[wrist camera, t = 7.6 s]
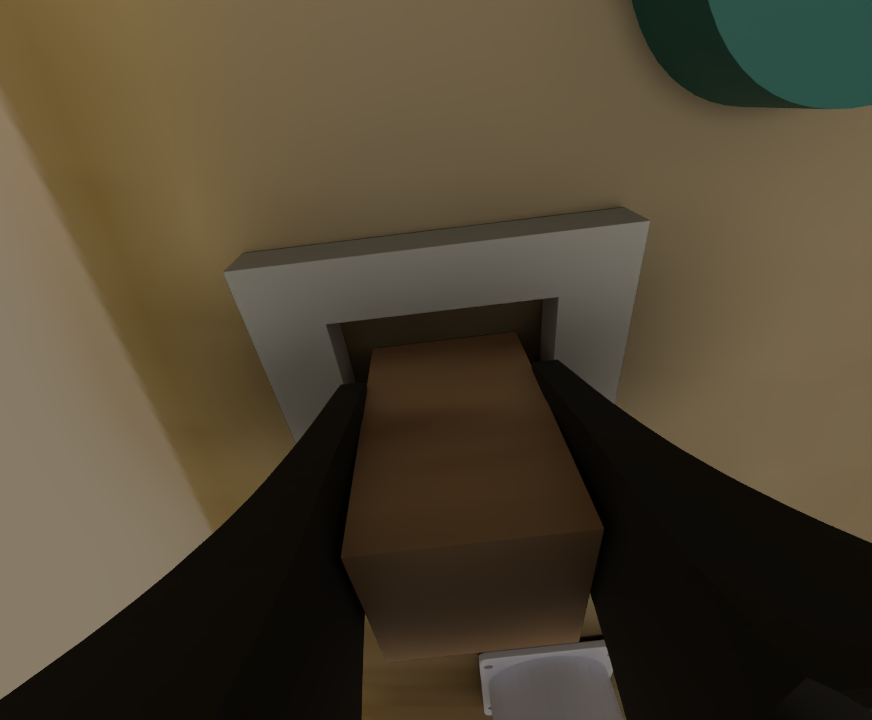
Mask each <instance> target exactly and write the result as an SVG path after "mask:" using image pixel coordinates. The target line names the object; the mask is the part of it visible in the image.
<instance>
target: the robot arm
mask: <svg viewBox="0 0 872 720" xmlns="http://www.w3.org/2000/svg"><path fill="white" fill-rule="evenodd" d="M532 371H533V373H534V375H535V378H536V380H537V382H538V384H539V387H540V389H541V391H542V393H543V396H544V398H545V399H546V401H547V403H548V404H549V407H550V409H551V411H552V413H553V415H554V418H555V420H556V422H557V424H558V427H559V429H560V431H561V433H562V436H563V438H564V440H565V442H566V444H567V447H568V449H569V451H570V453H571V456H572V458H573V460H574V462H575V465H576V467H577V469H578V471H579V473H580V476H581V478H582V480H583V482H584V485H585V487H586V489H587V491H588V494H589V496H590V498H591V500H592V502H593V505H594V507H595V509H596V511H597V514H598V516H599V518H600V520H601V523H602V525H603V527H604V532H603V536H602V541H601V545H600V550H599V554H598V559H597V563H596V568H595V572H594V577H593V581H592V586H591V590H590V594H591V597H592V600H593V604H594V607H595V610H596V613H597V617H598V620H599V624H600V627H601V631H602V634H603V637H604V640H596V641H586V642H577V643H567V644H558V645H548V646H539V647H530V648H520V649H511V650H501V651H492V652H484V653H481V654H480V655H479V667H480V676H481V685H482V695H483V704H484V713H485V714H486V715H492V718H493V720H624V719H623V716H622V713H621V710H620V707H619V704H618V701H617V698H616V696H615V693H614V690H613V687H612V684H611V681H610V678H611V675H612V672H614V676H615V679H616V683H617V687H618V690H619V694H620V698H621V701H622V705H623V708H624V712H625V716H626V719H627V720H872V543H870V542H868V541H865V540H863V539H861V538H858V537H856V536H854V535H851V534H849V533H847V532H844V531H842V530H840V529H837V528H835V527H833V526H830V525H828V524H826V523H824V522H821V521H819V520H817V519H815V518H813V517H811V516H808V515H806V514H804V513H802V512H800V511H797V510H795V509H793V508H791V507H789V506H787V505H785V504H783V503H781V502H779V501H777V500H775V499H773V498H771V497H769V496H767V495H765V494H763V493H761V492H759V491H757V490H755V489H753V488H751V487H749V486H747V485H744V484H743V483H741V482H739V481H737V480H735V479H733V478H731V477H729V476H727V475H726V474H724V473H722V472H720V471H718V470H716V469H715V468H713V467H711V466H709V465H708V464H706V463H704V462H703V461H701V460H699V459H697V458H696V457H694V456H692V455H690V454H689V453H687V452H685V451H683V450H682V449H680V448H679V447H677V446H675V445H674V444H672V443H670V442H669V441H667V440H666V439H664V438H663V437H661V436H660V435H658V434H657V433H655V432H654V431H652V430H651V429H649V428H648V427H646V426H645V425H643V424H642V423H640V422H639V421H637V420H636V419H634V418H633V417H632V416H630V415H629V414H627V413H626V412H625V411H623V410H622V409H620V408H619V407H618V406H616V405H615V404H614V403H612V402H611V401H610V400H608V399H607V398H606V397H604V396H603V395H602V394H601V393H599V392H598V391H597V390H595V389H594V388H593V387H592V386H590V385H589V384H588V383H587V382H585V381H584V380H583V379H581V378H580V377H579V376H578V375H577V374H575V373H574V372H573V371H572V370H570V369H569V368H568V367H567V366H565V365H564V364H563V363H562V362H560V361H559V360H558V359H557V360H548V361H539V362H532ZM366 395H367V386H366V382H358V383H349V384H341V385H340V386H339V387H338V388H337V390H336V391H335V392H334V394H333V395H332V397H331V398H330V399H329V401H328V402H327V403H326V405H325V406H324V408H323V409H322V410H321V412H320V413H319V414H318V416H317V417H316V419H315V420H314V421H313V423H312V424H311V425H310V427H309V428H308V429H307V430H306V432H305V433H304V434H303V436H302V437H301V438H300V440H299V441H298V442H297V443H296V445H295V446H294V447H293V449H292V450H291V451H290V452H289V453H288V455H287V456H286V457H285V458H284V459H283V461H282V462H281V463H280V464H279V465H278V466H277V468H276V469H275V470H274V471H273V472H272V473H271V475H270V476H269V477H268V478H267V479H266V480H265V482H264V483H263V484H262V485H261V486H260V487H259V488H258V489H257V490H256V491H255V493H254V494H253V495H252V496H251V497H250V498H249V499H248V500H247V501H246V502H245V503H244V504H243V505H242V506H241V507H240V508H239V509H238V510H237V511H236V512H235V513H234V514H233V515H232V516H231V517H230V518H229V519H228V520H227V521H226V522H225V523H224V524H223V525H222V526H221V527H220V528H218V529H217V530H216V531H215V532H214V533H213V534H212V535H211V536H210V537H209V538H207V539H206V540H205V541H204V542H203V543H202V544H201V545H199V546H198V547H197V548H196V549H195V550H194V551H193V552H192V553H191V554H189V555H188V556H187V557H186V558H185V559H184V560H183V561H182V562H181V563H179V564H178V565H177V566H176V567H175V568H174V569H173V570H172V571H170V572H169V573H168V574H167V575H165V576H164V577H163V578H162V579H161V580H159V581H158V582H157V583H156V584H154V585H153V586H152V587H151V588H150V589H148V590H147V591H146V592H145V593H144V594H142V595H141V596H140V597H139V598H137V599H136V600H135V601H134V602H132V603H131V604H130V605H128V606H127V607H126V608H125V609H123V610H122V611H121V612H119V613H118V614H117V615H116V616H114V617H113V618H112V619H110V620H109V621H108V622H107V623H105V624H104V625H103V626H101V627H100V628H99V629H97V630H96V631H95V632H93V633H92V634H91V635H90V636H88V637H87V638H86V639H84V640H83V641H82V642H80V643H79V644H77V645H76V646H75V647H73V648H72V649H70V650H69V651H68V652H66V653H65V654H63V655H62V656H61V657H59V658H58V659H56V660H55V661H54V662H52V663H51V664H50V665H48V666H47V667H45V668H44V669H43V670H41V671H40V672H38V673H37V674H36V675H34V676H33V677H31V678H30V679H29V680H27V681H26V682H25V683H23V684H22V685H20V686H19V687H17V688H16V689H15V690H13V691H12V692H11V693H9V694H8V695H6V696H5V697H3V698H2V699H1V700H0V720H362V676H363V646H364V621H365V612H364V609H363V607H362V605H361V603H360V600H359V598H358V596H357V594H356V591H355V589H354V587H353V585H352V582H351V580H350V578H349V576H348V573H347V571H346V569H345V566H344V564H343V562H342V560H341V553H342V546H343V540H344V533H345V527H346V520H347V513H348V507H349V500H350V494H351V487H352V481H353V474H354V468H355V461H356V455H357V448H358V441H359V435H360V428H361V423H362V420H363V415H364V409H365V402H366Z"/></svg>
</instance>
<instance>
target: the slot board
mask: <svg viewBox="0 0 872 720" xmlns="http://www.w3.org/2000/svg"><path fill="white" fill-rule="evenodd" d="M649 225H650V220H648V219H646V218H644V217H642V216H640V215H638V214H636V213H634V212H632V211H630V210H628V209H627V208H625V207H623V208H614V209H606V210H598V211H590V212H581V213H573V214H565V215H557V216H548V217H540V218H532V219H523V220H515V221H507V222H499V223H490V224H482V225H474V226H465V227H457V228H449V229H441V230H432V231H424V232H416V233H408V234H399V235H391V236H383V237H374V238H366V239H358V240H350V241H341V242H333V243H325V244H317V245H308V246H300V247H292V248H283V249H275V250H267V251H259V252H250V253H243V254H242V255H241V256H240V257H239V258H238V259H236V260H235V261H234V262H233V263H232V264H231V265H230V266H229V267H228V268H227V269H226V270H225V271H223V274H224V276H225V278H226V281H227V283H228V285H229V288H230V290H231V292H232V295H233V297H234V299H235V302H236V304H237V306H238V309H239V311H240V313H241V316H242V318H243V320H244V323H245V325H246V328H247V330H248V332H249V335H250V337H251V339H252V342H253V344H254V346H255V349H256V351H257V353H258V356H259V358H260V360H261V363H262V365H263V367H264V370H265V372H266V374H267V377H268V379H269V381H270V384H271V386H272V388H273V391H274V393H275V395H276V398H277V400H278V403H279V405H280V407H281V410H282V412H283V414H284V417H285V419H286V421H287V424H288V426H289V428H290V431H291V433H292V435H293V438H294V440H295V442H296V443H297V442H298V441H299V440H300V438H301V437H302V436H303V434H304V433H305V432H306V430H307V429H308V428H309V427H310V425H311V424H312V423H313V421H314V420H315V419H316V417H317V416H318V414H319V413H320V412H321V410H322V409H323V408H324V406H325V405H326V403H327V402H328V401H329V399H330V398H331V397H332V395H333V394H334V392H335V391H336V390H337V388H338V387H339V386H340V385H341V384H349V383H356V380H355V376H354V373H353V369H352V365H351V362H350V358H349V354H348V351H347V347H346V343H345V340H344V336H343V332H342V329H341V325H340V323H342V322H350V321H359V320H367V319H376V318H384V317H393V316H401V315H410V314H418V313H427V312H435V311H444V310H452V309H461V308H469V307H478V306H486V305H495V304H503V303H512V302H520V301H528V300H537V299H543V306H542V326H541V345H540V361H548V360H557V359H558V360H559V361H560V362H562V363H563V364H564V365H565V366H567V367H568V368H569V369H570V370H572V371H573V372H574V373H575V374H577V375H578V376H579V377H580V378H581V379H583V380H584V381H585V382H587V383H588V384H589V385H590V386H592V387H593V388H594V389H595V390H597V391H598V392H599V393H601V394H602V395H603V396H604V397H606V398H607V399H608V400H610V401H611V402H612V403H614V404H615V399H616V394H617V389H618V384H619V378H620V373H621V368H622V363H623V358H624V353H625V348H626V343H627V337H628V332H629V327H630V322H631V317H632V312H633V307H634V302H635V296H636V291H637V286H638V281H639V276H640V271H641V266H642V261H643V255H644V250H645V245H646V240H647V235H648V230H649Z"/></svg>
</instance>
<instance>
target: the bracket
mask: <svg viewBox="0 0 872 720" xmlns="http://www.w3.org/2000/svg"><path fill="white" fill-rule="evenodd" d="M632 2H633V7H634V10H635V13H636V16H637V20H638V23H639V26H640V29H641V31H642V33H643V35H644V37H645V40H646V42H647V44H648V46H649V48H650V49H651V51H652V53H653V54H654V56H655V57H656V59H657V61H658V62H659V63H660V65H661V66H662V67H663V68H664V69H665V71H666V72H667V73H668V74H669V75H670V76H671V77H672V78H673V79H674V80H675V81H676V82H677V83H679V84H680V85H681V86H682V87H684V88H685V89H687V90H688V91H690V92H692V93H693V94H695V95H697V96H699V97H701V98H704V99H706V100H708V101H711V102H715V103H719V104H723V105H729V106H739V107H770V108H809V109H844V108H855V107H862V106H868V105H872V0H632Z"/></svg>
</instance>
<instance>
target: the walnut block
mask: <svg viewBox="0 0 872 720" xmlns="http://www.w3.org/2000/svg"><path fill="white" fill-rule="evenodd" d="M603 532H604V527H603V525H602V523H601V520H600V518H599V516H598V514H597V511H596V509H595V507H594V505H593V502H592V500H591V498H590V496H589V494H588V491H587V489H586V487H585V485H584V482H583V480H582V478H581V476H580V473H579V471H578V469H577V467H576V465H575V462H574V460H573V458H572V456H571V453H570V451H569V449H568V447H567V444H566V442H565V440H564V438H563V436H562V433H561V431H560V429H559V427H558V424H557V422H556V420H555V418H554V415H553V413H552V411H551V409H550V407H549V404H548V403H547V401H546V399H545V398H544V396H543V393H542V391H541V389H540V387H539V384H538V382H537V380H536V378H535V375H534V373H533V371H532V366H531V364H530V362H529V360H528V357H527V355H526V353H525V351H524V349H523V346H522V344H521V342H520V340H519V337H518V335H517V333H516V331H515V332H507V333H498V334H490V335H482V336H473V337H465V338H456V339H448V340H440V341H431V342H423V343H415V344H406V345H398V346H389V347H381V348H373V350H372V356H371V363H370V370H369V376H368V383H367V395H366V402H365V409H364V415H363V420H362V423H361V428H360V435H359V441H358V448H357V455H356V461H355V468H354V474H353V481H352V487H351V494H350V500H349V507H348V513H347V520H346V527H345V533H344V540H343V546H342V553H341V560H342V562H343V564H344V566H345V569H346V571H347V573H348V576H349V578H350V580H351V582H352V585H353V587H354V589H355V591H356V594H357V596H358V598H359V600H360V603H361V605H362V607H363V609H364V612H365V614H366V616H367V618H368V621H369V623H370V625H371V627H372V630H373V632H374V634H375V637H376V639H377V641H378V643H379V646H380V648H381V650H382V652H383V655H384V657H385V659H386V661H387V662H397V661H406V660H416V659H425V658H434V657H444V656H453V655H462V654H472V653H481V652H490V651H500V650H509V649H519V648H528V647H537V646H547V645H556V644H565V643H575V642H579V639H580V635H581V630H582V626H583V621H584V617H585V612H586V608H587V603H588V599H589V594H590V590H591V586H592V581H593V577H594V572H595V568H596V563H597V559H598V554H599V550H600V545H601V541H602V536H603Z"/></svg>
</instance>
